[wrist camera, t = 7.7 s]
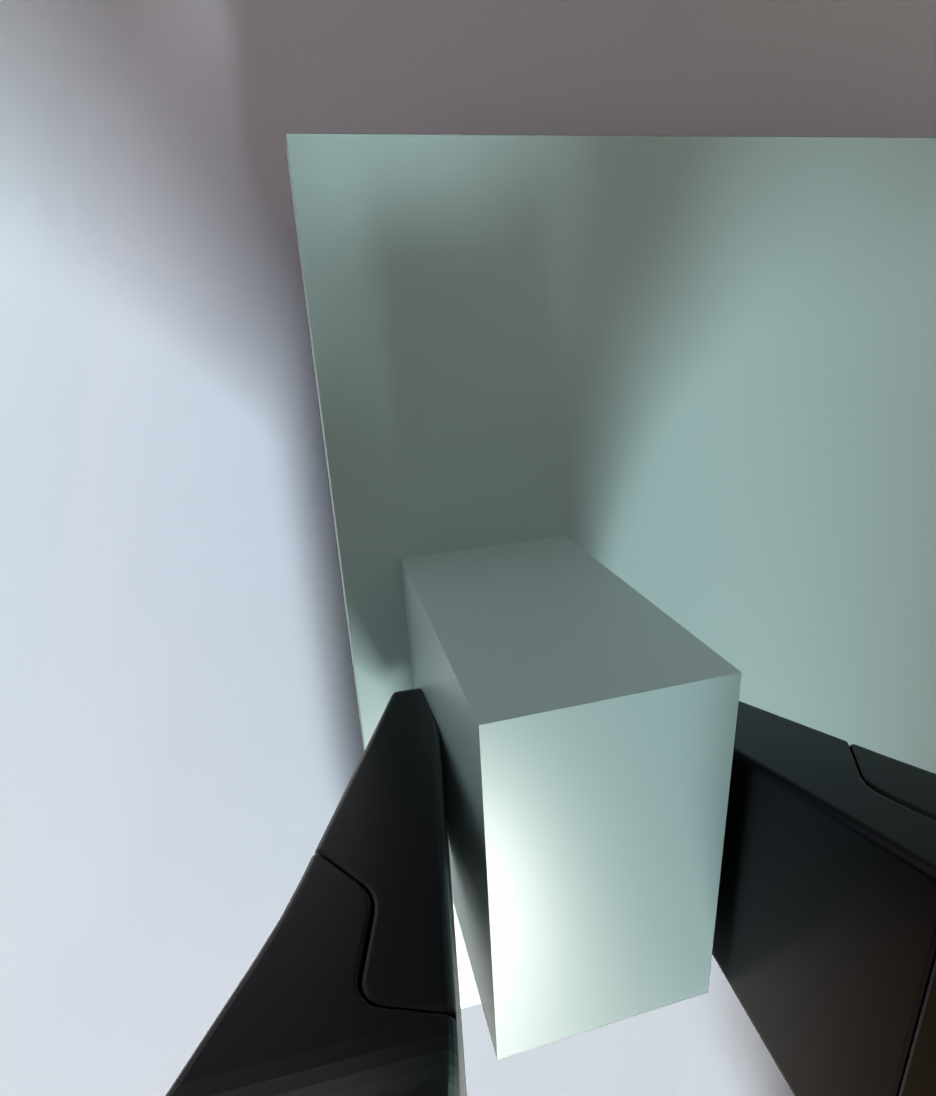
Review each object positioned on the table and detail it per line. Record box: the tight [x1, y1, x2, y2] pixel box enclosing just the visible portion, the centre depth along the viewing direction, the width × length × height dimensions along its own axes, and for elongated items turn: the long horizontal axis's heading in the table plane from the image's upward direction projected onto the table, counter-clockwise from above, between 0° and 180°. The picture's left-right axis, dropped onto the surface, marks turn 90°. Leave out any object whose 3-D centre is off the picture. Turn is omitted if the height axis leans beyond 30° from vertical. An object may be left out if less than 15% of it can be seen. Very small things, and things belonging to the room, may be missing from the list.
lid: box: [286, 134, 936, 1060], centre depth 10 cm, size 14×13×6 cm
